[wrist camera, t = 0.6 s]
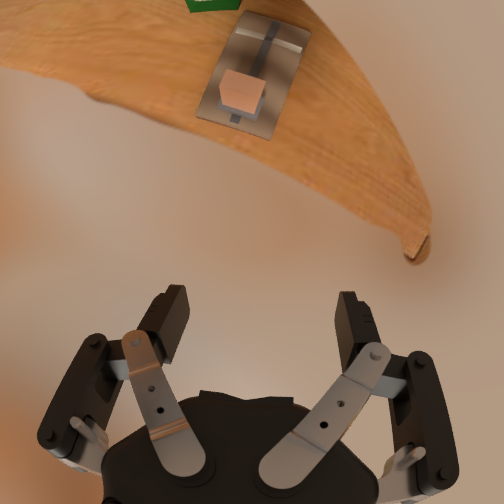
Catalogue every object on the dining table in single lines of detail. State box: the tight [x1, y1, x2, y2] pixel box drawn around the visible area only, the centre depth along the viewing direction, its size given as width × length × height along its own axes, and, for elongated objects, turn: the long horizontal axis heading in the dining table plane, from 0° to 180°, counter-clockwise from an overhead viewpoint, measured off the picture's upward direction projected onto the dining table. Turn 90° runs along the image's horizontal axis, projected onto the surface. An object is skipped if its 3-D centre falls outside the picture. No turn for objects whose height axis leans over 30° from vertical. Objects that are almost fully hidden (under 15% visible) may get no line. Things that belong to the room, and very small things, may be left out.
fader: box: [217, 69, 266, 121], centre depth 26 cm, size 3×5×8 cm, turn 70°
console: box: [195, 11, 312, 140], centre depth 30 cm, size 18×10×2 cm, turn 161°
